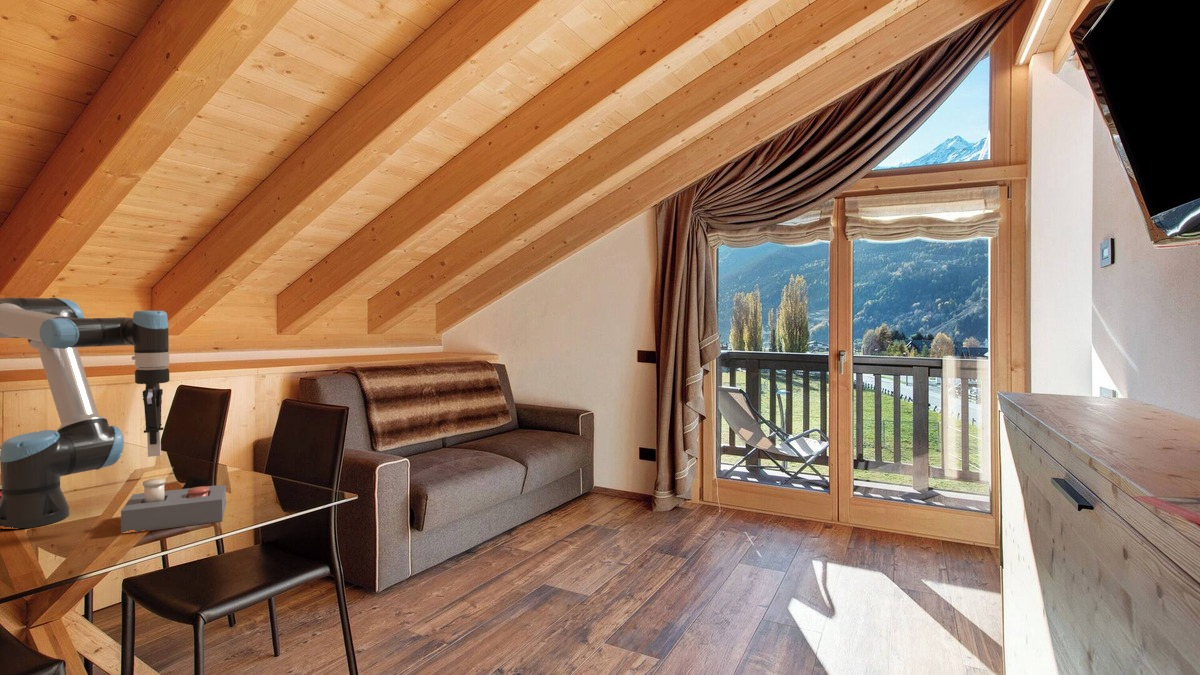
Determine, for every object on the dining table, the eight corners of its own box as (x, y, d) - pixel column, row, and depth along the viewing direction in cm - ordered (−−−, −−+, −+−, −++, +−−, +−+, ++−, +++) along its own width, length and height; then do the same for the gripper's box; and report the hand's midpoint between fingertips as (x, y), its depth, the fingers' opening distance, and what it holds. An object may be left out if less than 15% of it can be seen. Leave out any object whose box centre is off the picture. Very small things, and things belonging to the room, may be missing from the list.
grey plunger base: (133, 515, 172) (132, 494, 171) (225, 504, 182) (225, 484, 182) (121, 534, 158) (120, 511, 157) (222, 521, 168) (222, 499, 168)
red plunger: (189, 511, 173) (188, 487, 173) (210, 509, 176) (209, 485, 175) (187, 517, 169) (186, 492, 169) (208, 514, 171) (208, 490, 171)
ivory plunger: (145, 504, 168) (144, 479, 168) (167, 502, 171) (166, 477, 170) (141, 509, 164) (141, 484, 164) (164, 507, 166) (164, 482, 166)
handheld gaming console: (152, 496, 184) (175, 466, 189) (170, 505, 190) (191, 475, 195) (179, 506, 180) (202, 475, 185) (197, 515, 186) (218, 484, 191)
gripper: (139, 366, 170) (141, 452, 171) (130, 370, 158) (132, 462, 159) (172, 365, 173) (174, 449, 174) (165, 369, 162) (168, 459, 163)
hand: (154, 455), depth 167 cm, fingers closed
